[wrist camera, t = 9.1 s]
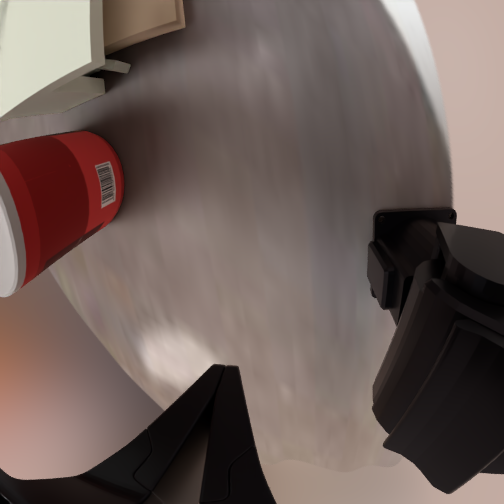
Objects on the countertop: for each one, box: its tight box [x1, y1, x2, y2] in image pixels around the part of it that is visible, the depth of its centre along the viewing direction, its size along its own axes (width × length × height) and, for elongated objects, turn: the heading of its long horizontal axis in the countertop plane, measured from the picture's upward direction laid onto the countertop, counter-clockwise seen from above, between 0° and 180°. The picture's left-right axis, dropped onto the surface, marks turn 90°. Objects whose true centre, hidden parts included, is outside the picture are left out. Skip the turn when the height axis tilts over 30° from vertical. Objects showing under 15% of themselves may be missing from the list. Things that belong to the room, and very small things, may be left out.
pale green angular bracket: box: [0, 0, 131, 121], centre depth 11 cm, size 9×13×7 cm
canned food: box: [0, 130, 124, 297], centre depth 15 cm, size 8×8×11 cm
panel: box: [102, 0, 186, 56], centre depth 13 cm, size 10×6×2 cm, turn 97°
